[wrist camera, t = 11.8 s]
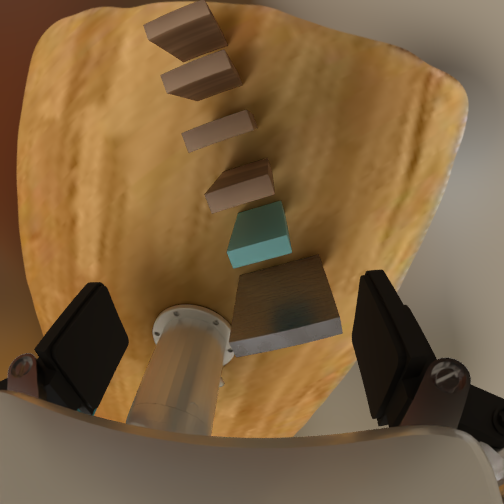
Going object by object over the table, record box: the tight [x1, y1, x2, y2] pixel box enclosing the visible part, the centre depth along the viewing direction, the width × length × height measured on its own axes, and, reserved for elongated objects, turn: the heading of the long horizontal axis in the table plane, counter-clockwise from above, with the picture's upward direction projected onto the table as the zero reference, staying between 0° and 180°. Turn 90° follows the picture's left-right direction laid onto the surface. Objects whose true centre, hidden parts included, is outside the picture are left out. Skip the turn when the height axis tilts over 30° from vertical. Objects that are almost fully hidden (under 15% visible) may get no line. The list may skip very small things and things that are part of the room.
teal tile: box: [227, 201, 292, 269], centre depth 27 cm, size 2×5×10 cm, turn 108°
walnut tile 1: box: [143, 0, 228, 62], centre depth 19 cm, size 2×5×10 cm, turn 109°
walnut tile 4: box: [205, 158, 275, 214], centre depth 25 cm, size 2×5×10 cm, turn 109°
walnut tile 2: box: [160, 50, 242, 101], centre depth 21 cm, size 2×5×10 cm, turn 108°
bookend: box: [229, 254, 343, 357], centre depth 30 cm, size 2×10×12 cm, turn 108°
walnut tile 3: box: [181, 110, 257, 153], centre depth 23 cm, size 2×5×10 cm, turn 108°
